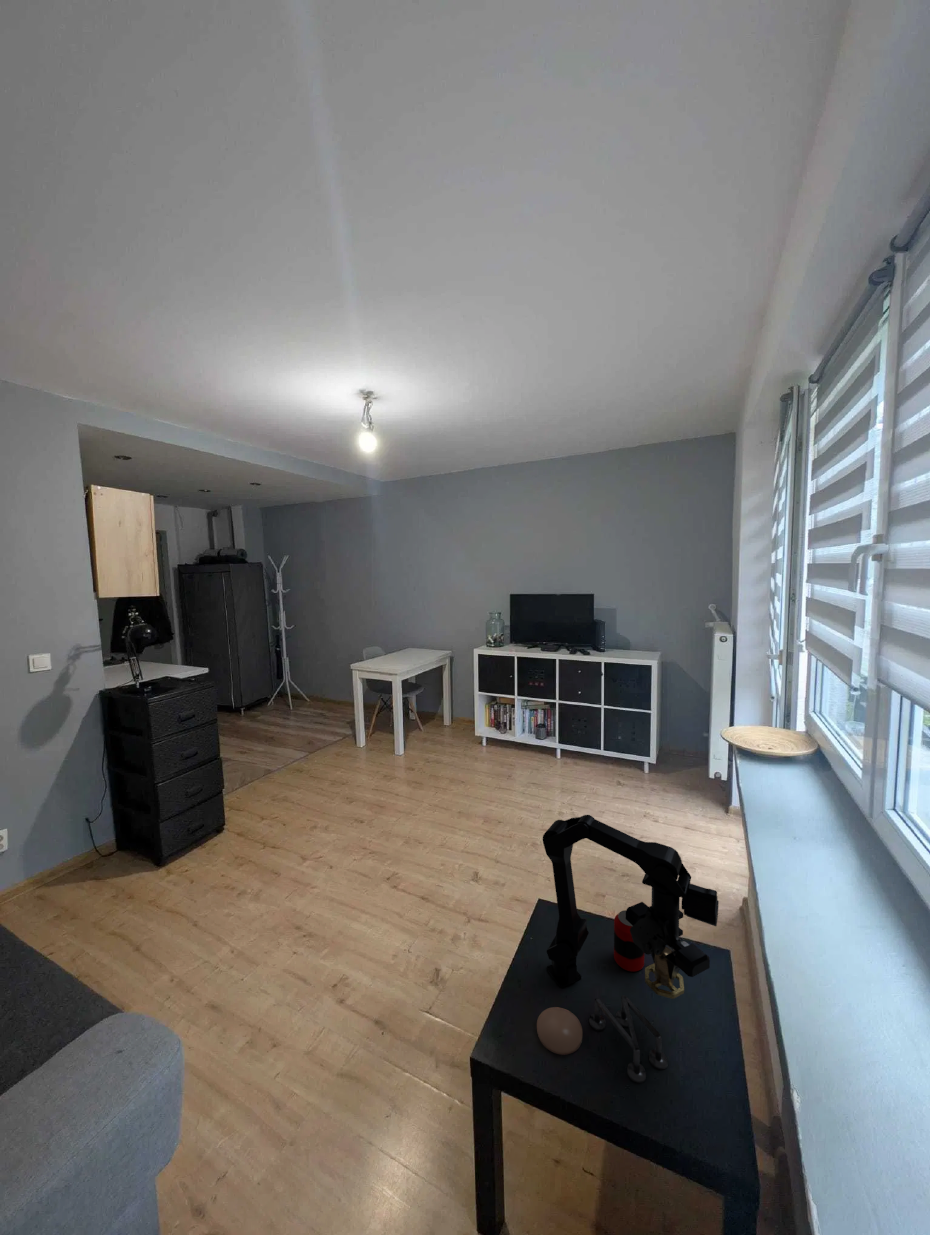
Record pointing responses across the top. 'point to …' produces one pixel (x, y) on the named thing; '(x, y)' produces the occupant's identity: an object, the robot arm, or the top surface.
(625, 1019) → the zigzag metal pull handle
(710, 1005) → the top surface
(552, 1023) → the coaster
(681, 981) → the octagonal handwheel knob
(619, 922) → the soda can
